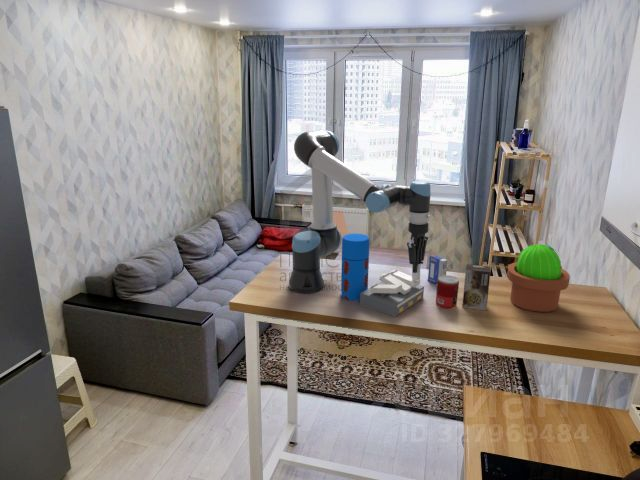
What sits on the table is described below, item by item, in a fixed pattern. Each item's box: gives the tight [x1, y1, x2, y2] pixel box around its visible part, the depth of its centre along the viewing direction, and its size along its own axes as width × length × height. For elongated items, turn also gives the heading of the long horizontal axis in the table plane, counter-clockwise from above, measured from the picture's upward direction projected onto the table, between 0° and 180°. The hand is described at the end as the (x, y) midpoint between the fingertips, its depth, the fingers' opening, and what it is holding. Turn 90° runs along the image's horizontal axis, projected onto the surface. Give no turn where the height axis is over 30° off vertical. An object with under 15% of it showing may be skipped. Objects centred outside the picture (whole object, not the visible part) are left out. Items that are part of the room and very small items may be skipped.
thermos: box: [340, 233, 370, 302], centre depth 188 cm, size 11×11×25 cm
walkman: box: [427, 254, 448, 285], centre depth 202 cm, size 8×3×12 cm, turn 32°
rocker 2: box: [379, 272, 411, 295], centre depth 183 cm, size 12×4×2 cm, turn 51°
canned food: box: [435, 274, 460, 309], centre depth 181 cm, size 8×8×11 cm
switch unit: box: [359, 281, 425, 318], centre depth 185 cm, size 16×22×7 cm
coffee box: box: [461, 263, 492, 311], centre depth 180 cm, size 9×6×16 cm
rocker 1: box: [368, 283, 403, 293], centre depth 178 cm, size 12×4×2 cm, turn 50°
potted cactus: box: [506, 243, 571, 313], centre depth 181 cm, size 22×22×25 cm
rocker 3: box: [388, 269, 421, 287], centre depth 188 cm, size 12×4×2 cm, turn 51°
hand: (415, 279), depth 185 cm, fingers closed
